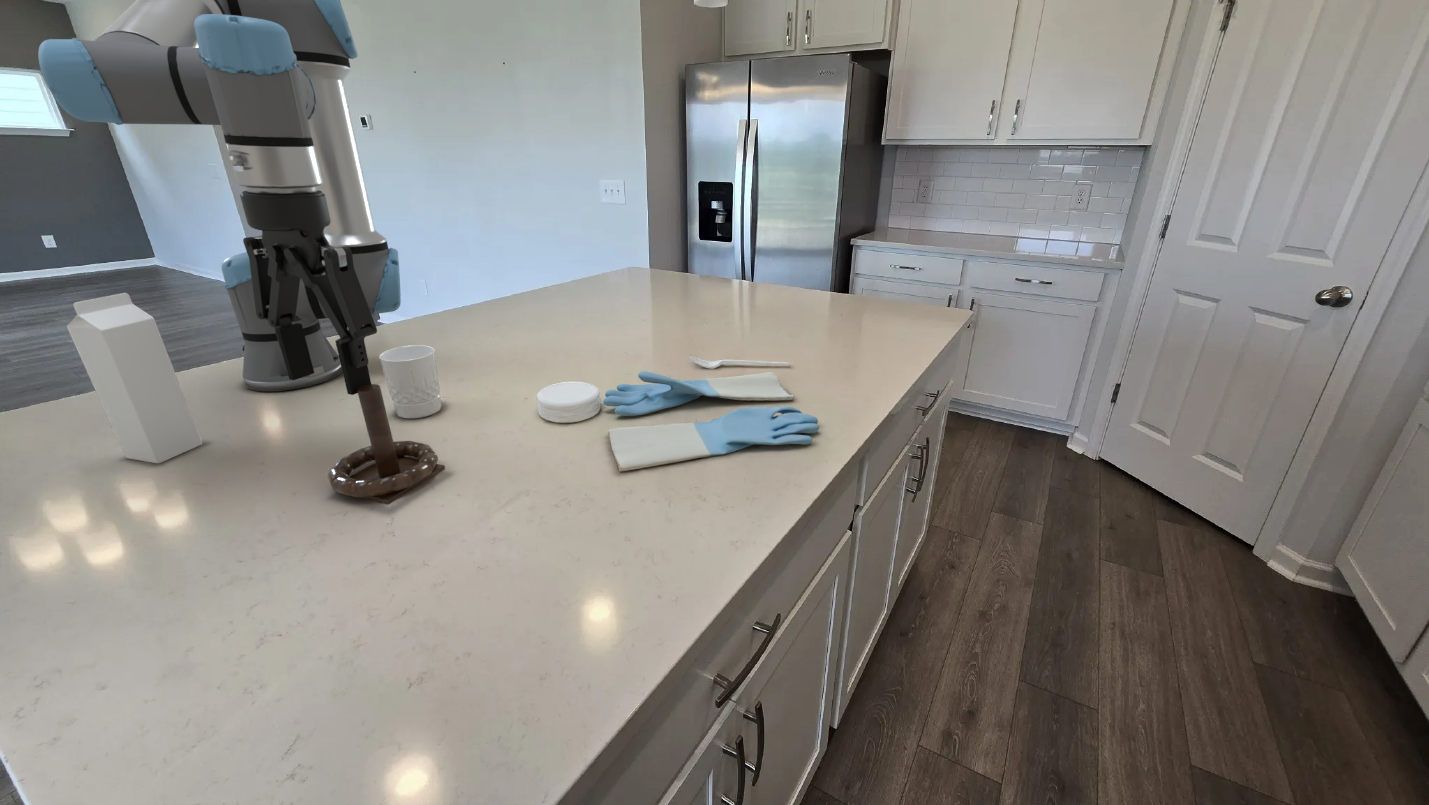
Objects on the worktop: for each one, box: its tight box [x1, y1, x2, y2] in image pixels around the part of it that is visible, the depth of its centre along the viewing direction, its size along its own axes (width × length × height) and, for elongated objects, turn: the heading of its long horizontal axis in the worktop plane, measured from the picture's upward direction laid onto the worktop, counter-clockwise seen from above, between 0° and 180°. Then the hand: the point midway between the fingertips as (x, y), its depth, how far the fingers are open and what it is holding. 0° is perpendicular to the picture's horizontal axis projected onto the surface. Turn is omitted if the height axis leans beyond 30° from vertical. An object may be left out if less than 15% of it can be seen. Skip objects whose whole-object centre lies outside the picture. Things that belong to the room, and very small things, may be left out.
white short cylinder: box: [536, 380, 602, 424], centre depth 95 cm, size 10×10×4 cm
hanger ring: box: [327, 440, 439, 498], centre depth 74 cm, size 12×12×2 cm
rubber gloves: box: [602, 370, 820, 472], centre depth 93 cm, size 27×33×6 cm
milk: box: [66, 292, 203, 464], centre depth 78 cm, size 6×6×22 cm
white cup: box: [378, 344, 443, 419], centre depth 94 cm, size 8×8×10 cm
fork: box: [688, 354, 791, 370], centre depth 116 cm, size 3×20×2 cm, turn 89°
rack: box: [349, 383, 446, 505], centre depth 72 cm, size 9×9×14 cm
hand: (330, 383), depth 72 cm, fingers open, 9 cm apart
